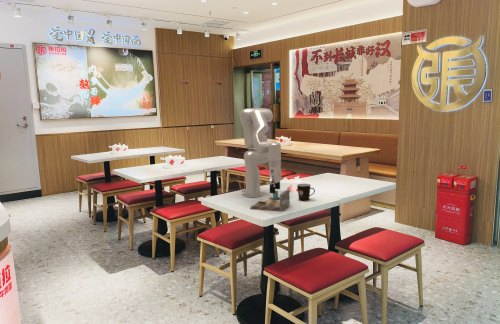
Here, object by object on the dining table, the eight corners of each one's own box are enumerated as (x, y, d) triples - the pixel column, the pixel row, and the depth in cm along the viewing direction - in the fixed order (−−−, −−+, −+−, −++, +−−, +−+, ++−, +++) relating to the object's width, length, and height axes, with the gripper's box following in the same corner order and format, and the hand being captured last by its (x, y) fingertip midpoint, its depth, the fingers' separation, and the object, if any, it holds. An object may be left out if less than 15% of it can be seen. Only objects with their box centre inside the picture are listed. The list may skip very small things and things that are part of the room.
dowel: (272, 204, 229) (272, 191, 228) (274, 203, 232) (273, 190, 231) (277, 205, 228) (277, 192, 227) (278, 203, 231) (278, 190, 229)
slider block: (266, 207, 227) (266, 200, 227) (271, 203, 236) (271, 196, 235) (280, 208, 224) (280, 201, 223) (285, 204, 232) (285, 197, 232)
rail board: (250, 209, 229) (249, 192, 228) (257, 203, 241) (257, 188, 240) (283, 211, 222) (283, 194, 220) (289, 205, 234) (289, 189, 232)
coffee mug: (294, 199, 249) (294, 184, 248) (306, 197, 252) (305, 183, 251) (304, 203, 238) (304, 187, 237) (315, 201, 242) (315, 186, 240)
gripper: (276, 166, 217) (276, 195, 220) (284, 161, 233) (285, 188, 236) (263, 165, 220) (264, 194, 223) (273, 160, 236) (273, 187, 238)
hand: (275, 191), depth 229 cm, fingers open, 9 cm apart
